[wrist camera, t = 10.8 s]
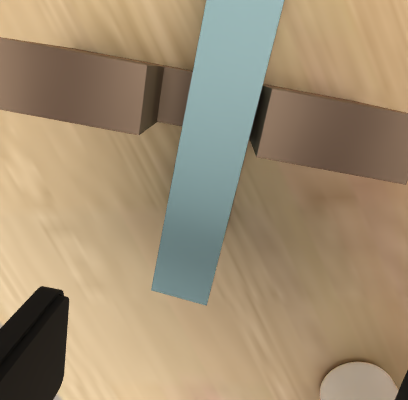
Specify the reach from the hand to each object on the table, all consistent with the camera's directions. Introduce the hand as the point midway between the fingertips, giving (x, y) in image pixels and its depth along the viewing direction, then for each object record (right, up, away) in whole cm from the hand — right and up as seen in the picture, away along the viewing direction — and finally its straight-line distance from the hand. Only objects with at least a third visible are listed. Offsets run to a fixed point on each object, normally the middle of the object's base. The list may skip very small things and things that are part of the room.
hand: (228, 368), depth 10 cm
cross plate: (+1, +10, +11) cm, 15 cm away
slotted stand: (0, +10, +11) cm, 15 cm away
